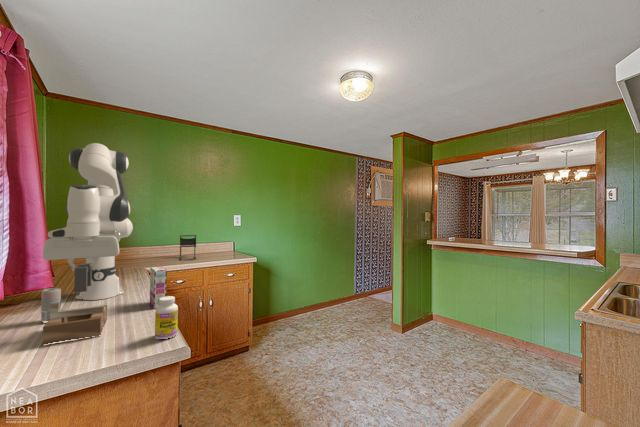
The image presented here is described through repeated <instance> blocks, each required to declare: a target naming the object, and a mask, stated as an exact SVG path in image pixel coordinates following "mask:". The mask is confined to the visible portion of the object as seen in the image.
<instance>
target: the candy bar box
mask: <svg viewBox="0 0 640 427" xmlns="http://www.w3.org/2000/svg"><path fill="white" fill-rule="evenodd" d="M149 269H150V270H149V271H150V272H149V274H150V275H149V276H150V277H149V304H150V305H151V307H152V308H153V309H154V308H157V307H158V306H159V305H160V303H159V299H160V298H162V297H166V296H167V277H168V276H167V272H168V270H167V269H166V268H164V267H163V266H154V267H150V268H149Z"/></svg>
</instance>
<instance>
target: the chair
mask: <svg viewBox="0 0 640 427" xmlns="http://www.w3.org/2000/svg"><path fill="white" fill-rule="evenodd" d="M182 237H193V238H182ZM182 248H194V249H193V258H187V259H186V258H185V259H184V258H183V259H182ZM196 248H197V234H182V235H179V261H181V260H185V261H194V259H195V260H197V258H196Z"/></svg>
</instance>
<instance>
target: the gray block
mask: <svg viewBox="0 0 640 427" xmlns="http://www.w3.org/2000/svg"><path fill="white" fill-rule="evenodd" d="M89 265H92V263H86V262H84V263H83V262H82V263H80V264H79V265H76V266H77V267H76V268H75V272H74V293H75V294H76V293H80V292H86V291H87V286H91V285H92V271H89Z"/></svg>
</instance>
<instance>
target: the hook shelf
mask: <svg viewBox="0 0 640 427" xmlns="http://www.w3.org/2000/svg"><path fill="white" fill-rule="evenodd" d="M106 320H107V321H108V304H100V305H94V306H93V305H92V306H87V307H86V306H84V307H77V308H68V309H61V310H60V302H53V303H51V304H50V320H49V321H48V322H47V323H46V324H44V325H43V326H42V345H43V344H48V343H53V342H59V341H65V340H71V339H79V338H85V337H92V336H99V335H101V336H102V334H101V332H102V333H103V331H104V329H103V327H104V328H105V326H106V324H107V322H106ZM105 323H106V324H105ZM104 325H105V326H104ZM102 330H103V331H102Z"/></svg>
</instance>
